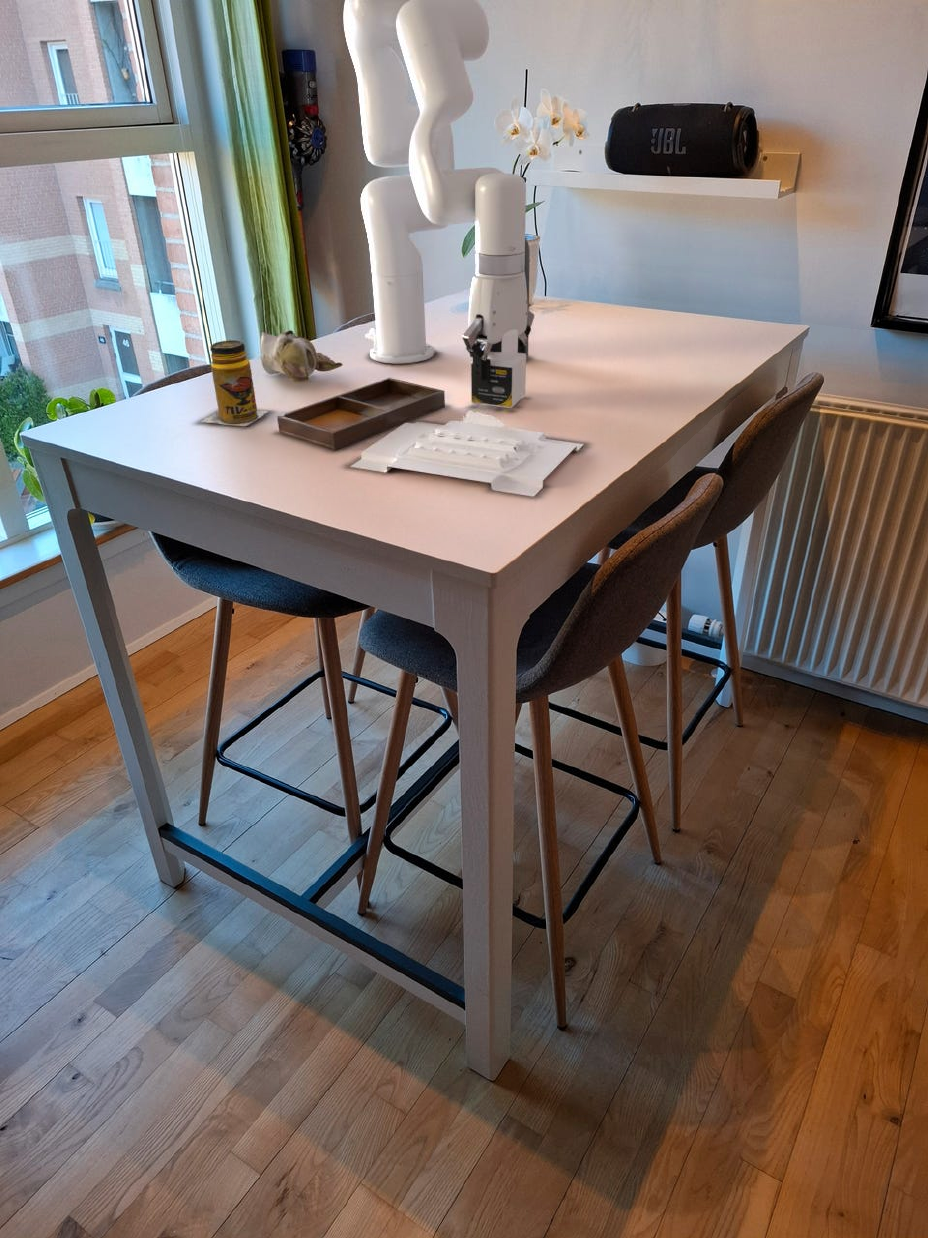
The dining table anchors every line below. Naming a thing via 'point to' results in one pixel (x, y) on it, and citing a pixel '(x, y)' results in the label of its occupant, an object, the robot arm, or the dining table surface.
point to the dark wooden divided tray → (360, 413)
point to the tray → (471, 452)
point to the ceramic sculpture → (292, 356)
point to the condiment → (233, 385)
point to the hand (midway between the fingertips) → (499, 375)
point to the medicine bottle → (502, 374)
